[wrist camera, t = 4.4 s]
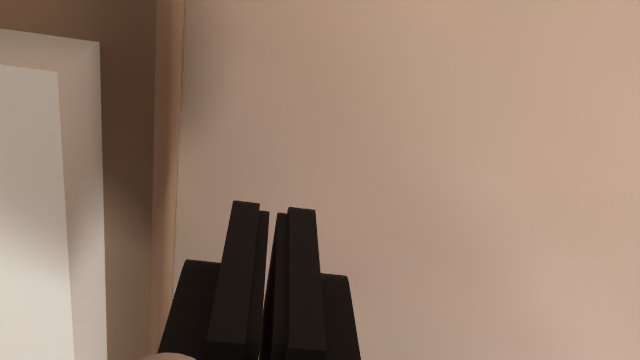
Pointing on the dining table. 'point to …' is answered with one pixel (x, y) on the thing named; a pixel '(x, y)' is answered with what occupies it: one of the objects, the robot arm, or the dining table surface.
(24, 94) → the coaster
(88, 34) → the walnut block
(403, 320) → the dining table surface
